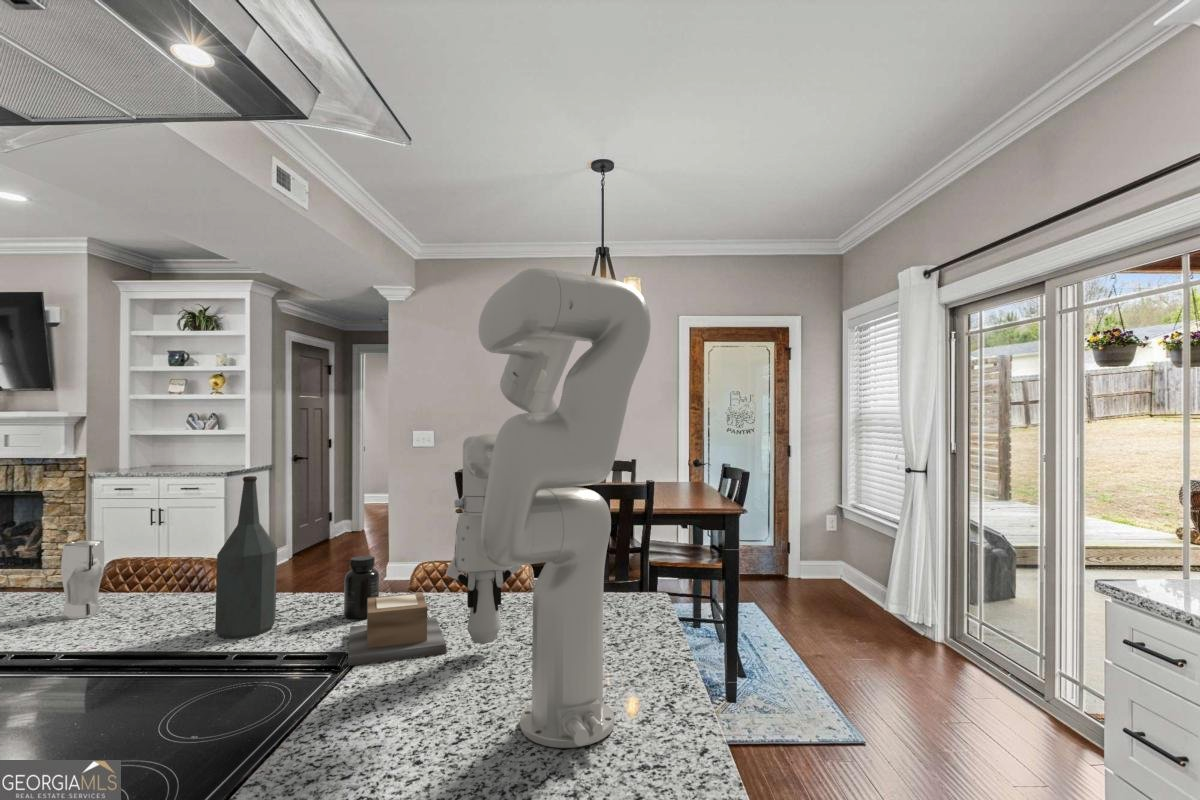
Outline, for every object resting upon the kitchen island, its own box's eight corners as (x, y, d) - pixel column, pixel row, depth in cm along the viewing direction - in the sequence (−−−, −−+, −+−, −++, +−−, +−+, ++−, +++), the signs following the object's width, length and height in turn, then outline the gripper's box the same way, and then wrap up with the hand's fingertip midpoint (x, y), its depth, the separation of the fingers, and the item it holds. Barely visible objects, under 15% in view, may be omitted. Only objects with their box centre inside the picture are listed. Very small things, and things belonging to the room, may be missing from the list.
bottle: (270, 635, 115) (274, 477, 117) (210, 642, 112) (215, 479, 113) (277, 619, 125) (281, 473, 126) (222, 625, 121) (226, 474, 123)
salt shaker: (504, 634, 109) (504, 561, 110) (496, 645, 103) (496, 568, 104) (472, 634, 110) (473, 561, 110) (462, 645, 104) (462, 567, 105)
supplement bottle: (372, 608, 133) (373, 553, 133) (383, 616, 127) (384, 558, 128) (339, 614, 128) (340, 557, 129) (349, 622, 123) (351, 563, 124)
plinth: (446, 653, 107) (446, 608, 107) (347, 665, 101) (348, 619, 101) (436, 625, 122) (436, 586, 122) (349, 634, 116) (350, 594, 116)
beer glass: (50, 618, 125) (53, 545, 126) (87, 608, 132) (90, 539, 132) (74, 621, 123) (77, 547, 124) (110, 611, 130) (113, 541, 130)
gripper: (439, 509, 102) (439, 621, 100) (534, 504, 107) (534, 610, 106) (434, 505, 109) (434, 610, 107) (523, 501, 114) (524, 600, 113)
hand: (484, 609), depth 107 cm, fingers closed on salt shaker, 3 cm apart
